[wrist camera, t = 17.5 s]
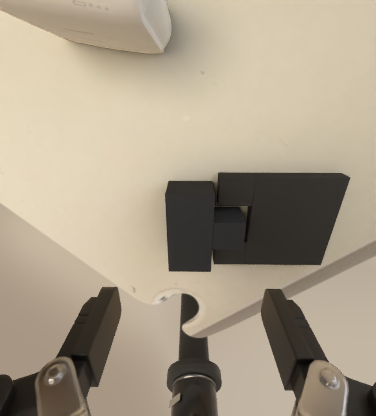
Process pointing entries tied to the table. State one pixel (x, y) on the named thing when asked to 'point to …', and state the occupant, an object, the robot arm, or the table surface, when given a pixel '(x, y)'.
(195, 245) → the black t-shaped block
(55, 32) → the photo printer
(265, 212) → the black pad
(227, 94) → the table surface
